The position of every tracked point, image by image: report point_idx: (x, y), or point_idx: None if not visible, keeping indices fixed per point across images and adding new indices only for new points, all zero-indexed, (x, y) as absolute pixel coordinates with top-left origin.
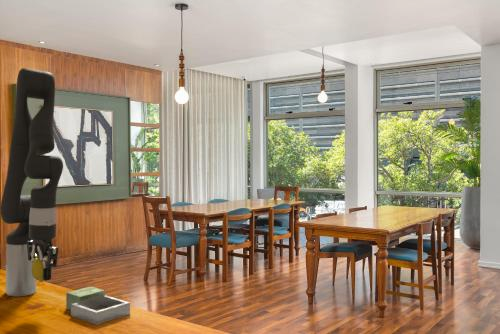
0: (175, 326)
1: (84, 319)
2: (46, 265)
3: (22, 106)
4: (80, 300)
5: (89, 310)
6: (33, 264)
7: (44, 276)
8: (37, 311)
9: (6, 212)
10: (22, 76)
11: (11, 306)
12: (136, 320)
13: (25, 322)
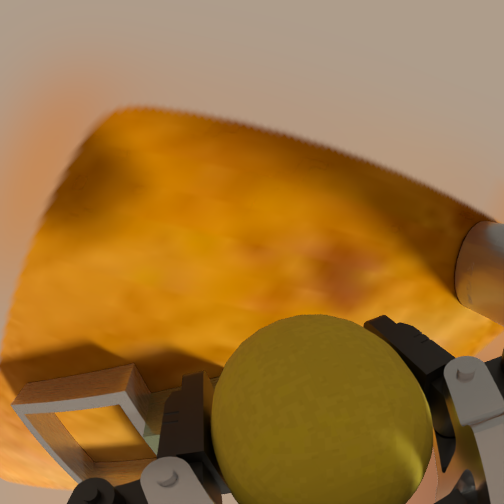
0: (6, 465)
1: (66, 378)
2: (148, 495)
3: None
4: (145, 427)
5: (34, 403)
6: (346, 393)
7: (181, 396)
8: (268, 268)
9: None
10: None
11: (390, 195)
12: (44, 453)
13: (142, 188)
